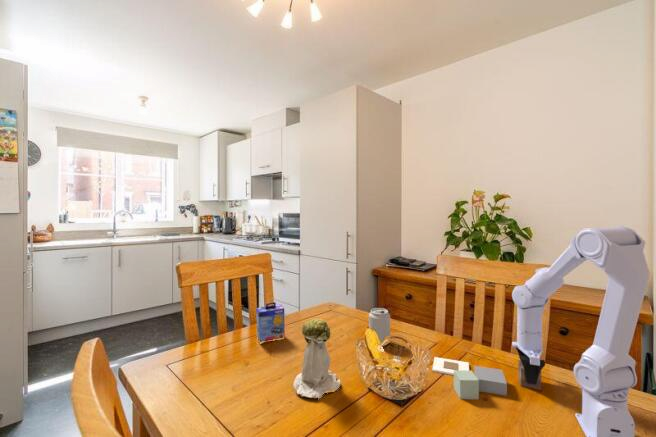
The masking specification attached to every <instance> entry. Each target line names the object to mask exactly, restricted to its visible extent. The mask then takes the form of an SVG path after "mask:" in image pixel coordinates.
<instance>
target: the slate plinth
mask: <svg viewBox="0 0 656 437" xmlns="http://www.w3.org/2000/svg"><path fill="white" fill-rule="evenodd" d="M473 368H474V372H473V373H474V375H475V376H476V377H477V379H478V380H479V392H483V393H489V394H494V395H498V396H506V397H507V396H508V383H507V380H506V377H505V375H504V372H503V369H498V368H492V367H487V366H486V367H484V366H478V365H474V367H473Z"/></svg>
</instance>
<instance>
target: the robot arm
mask: <svg viewBox="0 0 656 437" xmlns="http://www.w3.org/2000/svg"><path fill="white" fill-rule="evenodd" d="M645 245H646V241H645V240H644V239H643V238H642V237H641V236H640V235H639V234H638V233H637V232H636V231H635V230H634V229H632V228H630V227H628V226H624V225H623V226H622V225H620V226H619V225H618V226H614V227H599V228H598V227H597V228H596V227H586V228H584V229H582V230H580V231H579V232H578V233H577V235H576V236H574V237H572V238H571V239H570V244H569V245H568V246H567V248H566V249H565V250H564V251H563V252H562V253H561V254H560V255H559V256H558V258H557V259H556V260H555V261H554V262H553V263H552V264H551V265H550V266H549V267H542V268H541V267H540V268H537V269H535V271H534V273H535V274H534V275H533V276H531V277H530V279H527V280H526V281H525V283H524V284H523V285H516V286H514V289H513V290H512V292H511V297H512V298H511V299H512V301H513V303H514V304H515V306H517V307H516V308H517V309H516V310H517V311H516V314H517V315H516V326H517V327H516V329H517V330H516V337H517V338H516V341H512V342H511V345H512V348H515V350H516V352H517V354H518V357H519V360H521V362H522V364H523V367H524V373H525V378H526V382H527V383H528V384H534V385H536V383H537V380H538V377H539V374H540V371H541V372H542V370H543V369H544V367H545V366H546V361H545V360H544V359H541V355H542V353H543V352H544V347H543V313H544V312H545V307H546V306H547V305H548V303H549V298H550V297H551V296H552V295H553V294H554V293H555V292H556V291H558V289H560V288H562V286H564V277H565V276H567V275H568V274H570V273H571V272H572V271H574V270H575V269H576V268H577V267H579V266H581V265H582V264H583V263H584V262H586V261H587V260H588V261H590V262H591V263H592V264H593V265H595V266H596V267H597V268H599V269H600V270H601V271H602V272H604V273H605V274H606V275H607V276H608V281H607V285H606V290H605V294H604V298H603V301H602V305H601V310H600V313H599V318H598V322H597V326H596V330H595V334H594V339H593V343H592V345H591V346H589V347H588V348H587V349H586V350H585V351H584V352H583V353H581V357H580V360H579V361H578V362H577V363H575V365H574V366H573V375H574V378H575V380H576V382H577V384H578V385H579V387H580V389H581V390H582V391H581V396H582V398H581V413H578V412H576V413H575V414H574V416H575V418H576V420H577V422H578V423H579V424H578V425H579V426H580V427H581V429H582V432H583V433H584V435H585V436H586V437H635V436H636V424H635V420H634V418H633V416H632V415H631V413H630V411H629V408H628V399H629V398H628V395H629V394H630V389H632V388H634V387H635V386H636V385H637V383H638V377H637V373H636V364H637V361H636V360H635V359H634V358H633V357H632V356H631V355H630V354H629V353H630V349H631V347H632V346H631V345H632V342H633V339H634V334H635V330H636V328H637V323H638V320H639V316H640V312H641V310H642V306H643V302H644V299H645V294H646V291H647V288H648V284H649V281H650V271H649V267H648V264H647V263H648V262H647V259H646V256H645V253H644V249H645Z"/></svg>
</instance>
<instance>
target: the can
mask: <svg viewBox="0 0 656 437" xmlns="http://www.w3.org/2000/svg"><path fill="white" fill-rule="evenodd" d="M369 328H372V329H373V330H374V331H375V332H376V333H377V335H378V338H379V340H380V342H381V343H382V342H383V341H384V339H385V337H386V336H389V335H390V336H391V315H390V313H389V311H388V309H386V308H382V307H375V308H372V309H370V313H369V314H368V329H369Z"/></svg>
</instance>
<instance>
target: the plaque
mask: <svg viewBox="0 0 656 437" xmlns="http://www.w3.org/2000/svg"><path fill="white" fill-rule="evenodd" d="M454 370H466V371H470V362H468V361H461V360H456V359H449V358H443V357H436V356H434V359H433V364H432V369H431V371H432V373H433V372H434V373H439V374H444V375H449V376H450V375H451V376H454Z"/></svg>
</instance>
